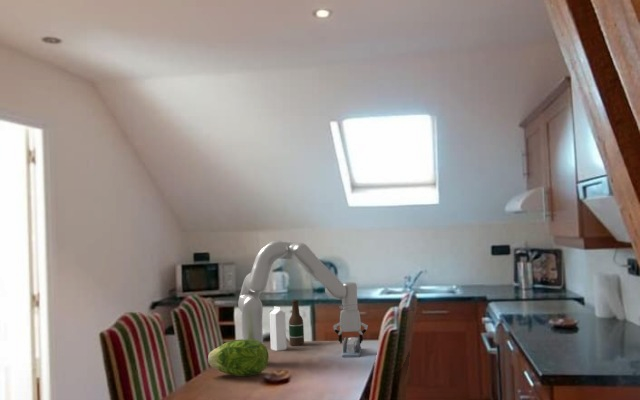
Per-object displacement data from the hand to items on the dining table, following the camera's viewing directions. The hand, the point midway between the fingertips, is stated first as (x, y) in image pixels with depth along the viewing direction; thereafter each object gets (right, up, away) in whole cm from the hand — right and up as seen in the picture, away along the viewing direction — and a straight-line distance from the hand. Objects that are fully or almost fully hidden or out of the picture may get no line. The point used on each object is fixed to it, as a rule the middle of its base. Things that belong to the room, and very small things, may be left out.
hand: (350, 342), depth 288 cm
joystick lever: (+1, -4, +2) cm, 4 cm away
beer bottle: (-28, -8, +26) cm, 39 cm away
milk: (-37, -8, +16) cm, 41 cm away
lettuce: (-50, -6, -36) cm, 62 cm away
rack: (+1, -5, 0) cm, 5 cm away
